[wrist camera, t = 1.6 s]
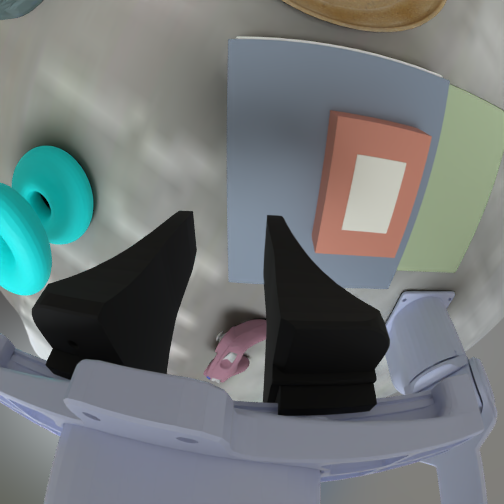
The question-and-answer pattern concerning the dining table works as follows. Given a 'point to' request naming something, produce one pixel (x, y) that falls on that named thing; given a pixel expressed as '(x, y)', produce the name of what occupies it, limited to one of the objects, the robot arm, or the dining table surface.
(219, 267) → the dining table surface
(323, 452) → the robot arm
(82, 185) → the donuts
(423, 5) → the plant saucer
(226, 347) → the pink rounded piece
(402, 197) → the card box
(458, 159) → the felt mat
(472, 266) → the dining table surface
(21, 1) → the grey plant pot
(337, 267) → the book deck
